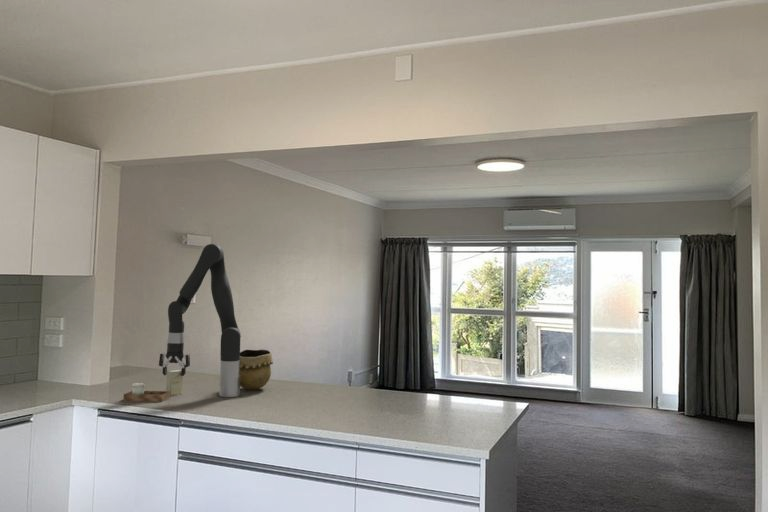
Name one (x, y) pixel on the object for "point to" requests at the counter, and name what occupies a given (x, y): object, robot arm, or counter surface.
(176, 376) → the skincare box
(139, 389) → the jar
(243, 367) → the clay pot
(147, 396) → the caddy
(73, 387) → the counter surface
